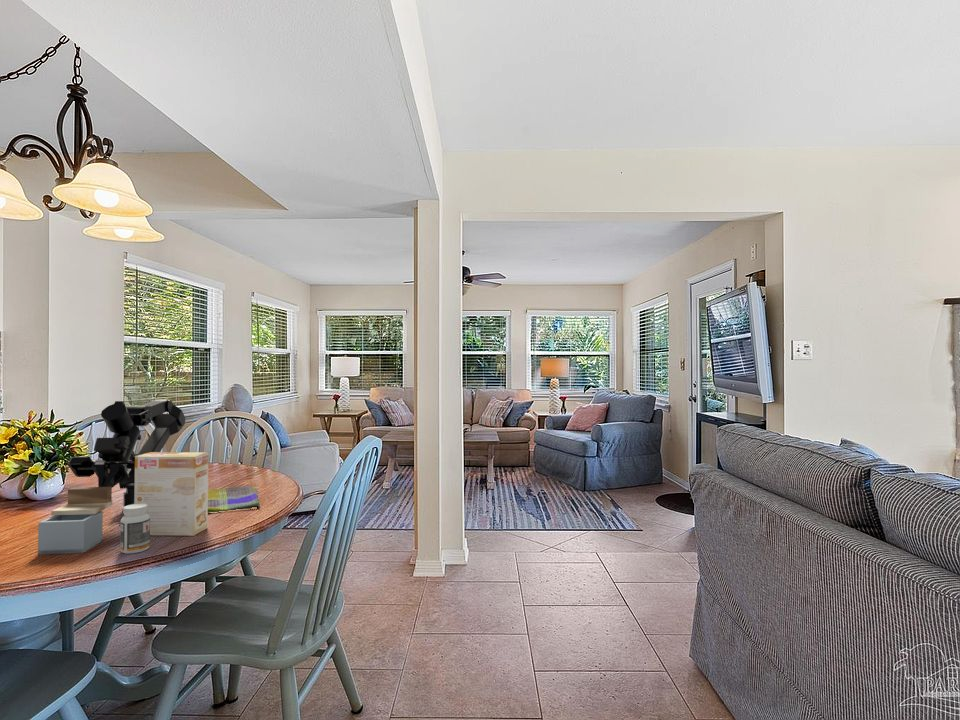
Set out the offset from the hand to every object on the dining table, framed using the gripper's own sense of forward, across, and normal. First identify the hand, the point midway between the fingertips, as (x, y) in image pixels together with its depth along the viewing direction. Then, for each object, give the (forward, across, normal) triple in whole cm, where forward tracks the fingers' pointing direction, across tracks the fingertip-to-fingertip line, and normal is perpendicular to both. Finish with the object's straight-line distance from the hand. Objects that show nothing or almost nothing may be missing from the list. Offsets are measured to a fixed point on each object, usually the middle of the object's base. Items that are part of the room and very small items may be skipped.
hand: (100, 494), depth 136 cm
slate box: (+15, 0, -2) cm, 15 cm away
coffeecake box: (+9, +18, +4) cm, 20 cm away
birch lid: (+7, 0, -4) cm, 8 cm away
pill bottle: (+18, +15, -5) cm, 24 cm away
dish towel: (-11, +23, +25) cm, 36 cm away
